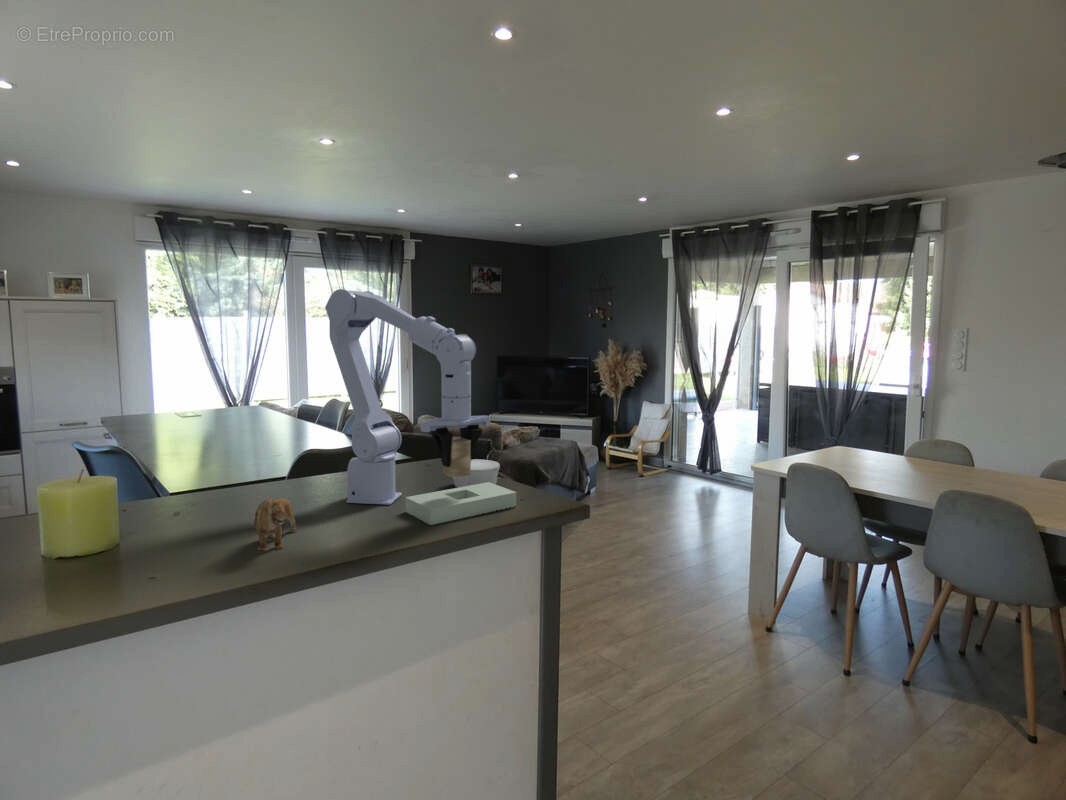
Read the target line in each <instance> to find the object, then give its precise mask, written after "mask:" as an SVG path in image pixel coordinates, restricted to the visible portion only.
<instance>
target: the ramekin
mask: <svg viewBox="0 0 1066 800" xmlns="http://www.w3.org/2000/svg"><path fill="white" fill-rule="evenodd" d="M500 467H501V465H500V463H499V462H498V461H495V460H491V459H490V460H489V459H481V458H480V459H478V458H475V459H473V458H472V459H471V475H467V476H460V477H454V478H452V479H453V484H454V486H455V488H459V487H465V486H470V485H476V484H481V483H487V482H490V483H493V484H495V485H497V481H498V476H499V470H500ZM496 476H497V477H496Z"/></svg>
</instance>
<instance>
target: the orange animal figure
mask: <svg viewBox="0 0 1066 800" xmlns="http://www.w3.org/2000/svg"><path fill="white" fill-rule="evenodd" d="M288 522H289V523H290V528H289V532H290V533H296V532H297V527H296V520H295V518H294V512H293V507H292V503H291V501H290V500H288V499H286V498H278V499H272V498H269V499H267V500H264V501H262V502H261V503H260V504H259V505H258V506H257V509H256V510H255V514H254V529H255V530H256V531H257V535H258V541H259V544H260V545H259V546H258V547H257V551H258V550H264V551H266V549H267V543H266V536H267V538H268V539H270V538H271V539H273V538H274V546H275V547H274V548H275V550H281V549H280V548H282V549H283V548H284V545H283V544H282V534H283V529H282V527H287V524H288Z"/></svg>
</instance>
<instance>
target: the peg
mask: <svg viewBox="0 0 1066 800" xmlns="http://www.w3.org/2000/svg"><path fill="white" fill-rule="evenodd" d="M471 460H472V459H471V440H468V439H465V438H462V437H461V436H459V437H453V438H452V443H451V462H450V467H446V466H443V465H442V473H443V475H444V476H445V475H446V476H448V477H450V478H452V479H453V478H454V477H460V476H467V475H471Z"/></svg>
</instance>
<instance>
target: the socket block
mask: <svg viewBox="0 0 1066 800" xmlns="http://www.w3.org/2000/svg"><path fill="white" fill-rule="evenodd" d="M517 494H518V493H517V491H514V490H511V489H508V488H507V487H503V486H501V485H498V484H496V485H495V484H493V483H490V482H487V483H481V484H476V485H470V486H465V487H459V488H457V487H454V488H450V489H449V488H448V489H443V490H439V491H433V492H427V493H421V494H416V495H411V496H405V498H404V500H405V512H406V513H407V514H409V515H411V516H412V515H413V517H414V516H415V517H414V518H416V519H418V520H420V521H422V522H424V523H426V524H427V525H430V526H432V525H437V524H443V523H447V522H451V521H455V520H460V519H465V518H470V517H474V516H478V515H483V513H484V514H488V513H492V511H493V512H497V511H496V510H498V511H502V510H506V508H507V509H511V508H515V506H516V507H517ZM510 507H511V508H510ZM501 509H502V510H501Z"/></svg>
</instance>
